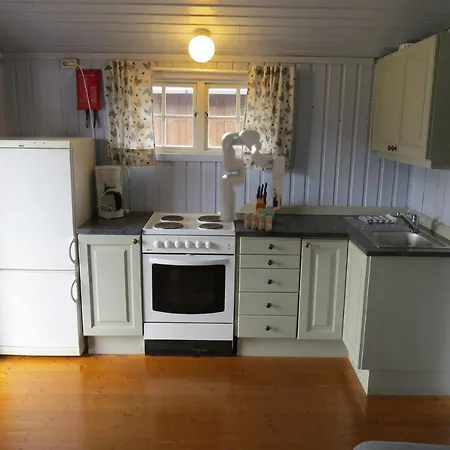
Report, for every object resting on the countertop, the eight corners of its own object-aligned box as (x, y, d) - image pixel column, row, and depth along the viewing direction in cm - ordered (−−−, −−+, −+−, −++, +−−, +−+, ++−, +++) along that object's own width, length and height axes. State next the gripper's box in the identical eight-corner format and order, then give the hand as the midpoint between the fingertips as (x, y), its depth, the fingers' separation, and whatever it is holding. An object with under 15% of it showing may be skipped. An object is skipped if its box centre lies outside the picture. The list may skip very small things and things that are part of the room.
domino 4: (265, 230, 296) (265, 216, 294) (268, 229, 301) (269, 215, 299) (268, 231, 296) (268, 217, 294) (271, 229, 300) (272, 215, 298)
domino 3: (258, 229, 299) (258, 215, 297) (261, 228, 303) (261, 214, 301) (261, 230, 298) (261, 216, 296) (264, 228, 302) (264, 214, 300)
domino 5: (273, 209, 291) (274, 194, 289) (277, 208, 295) (277, 193, 293) (276, 209, 290) (277, 195, 288) (279, 208, 294) (280, 194, 292)
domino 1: (244, 227, 304) (244, 214, 302) (247, 226, 308) (247, 212, 306) (246, 228, 303) (247, 214, 301) (250, 226, 307) (250, 213, 305)
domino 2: (251, 228, 301) (251, 214, 299) (254, 227, 305) (254, 213, 303) (253, 229, 300) (254, 215, 298) (257, 227, 304) (257, 213, 302)
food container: (262, 224, 314) (262, 209, 312) (258, 222, 320) (258, 207, 318) (278, 223, 319) (279, 208, 317) (274, 221, 324) (274, 206, 322)
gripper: (277, 175, 297) (276, 203, 301) (266, 177, 283) (265, 207, 287) (289, 175, 294) (287, 204, 298) (278, 178, 279) (277, 208, 283)
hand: (277, 205), depth 292 cm, fingers closed on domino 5, 4 cm apart
